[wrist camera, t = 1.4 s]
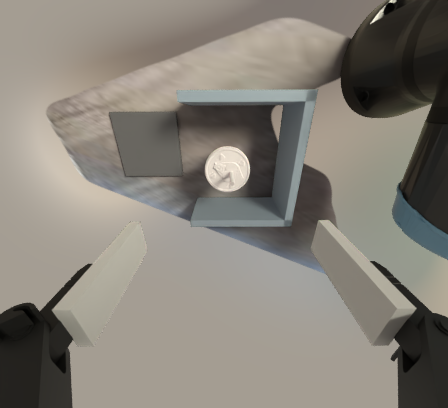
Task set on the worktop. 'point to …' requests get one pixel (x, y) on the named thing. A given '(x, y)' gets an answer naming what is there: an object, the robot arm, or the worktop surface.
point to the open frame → (285, 163)
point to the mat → (148, 143)
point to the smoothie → (227, 169)
